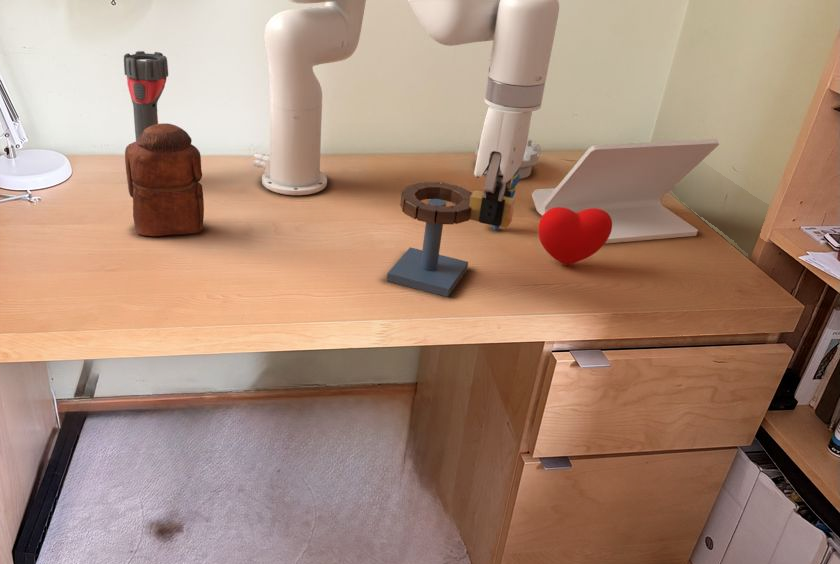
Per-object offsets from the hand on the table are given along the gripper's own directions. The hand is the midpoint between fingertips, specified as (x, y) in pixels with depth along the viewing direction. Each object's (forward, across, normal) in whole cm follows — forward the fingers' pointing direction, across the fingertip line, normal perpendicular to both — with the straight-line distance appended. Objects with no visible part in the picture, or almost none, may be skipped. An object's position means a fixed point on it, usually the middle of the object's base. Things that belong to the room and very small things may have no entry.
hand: (492, 218), depth 114 cm
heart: (+12, -15, +10) cm, 22 cm away
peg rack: (+12, 0, -9) cm, 15 cm away
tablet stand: (+12, -38, +14) cm, 42 cm away
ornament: (+12, -22, -4) cm, 25 cm away
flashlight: (+12, -10, -68) cm, 69 cm away
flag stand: (+12, -52, -10) cm, 54 cm away
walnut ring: (0, 0, -6) cm, 6 cm away
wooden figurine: (+12, +7, -53) cm, 54 cm away
